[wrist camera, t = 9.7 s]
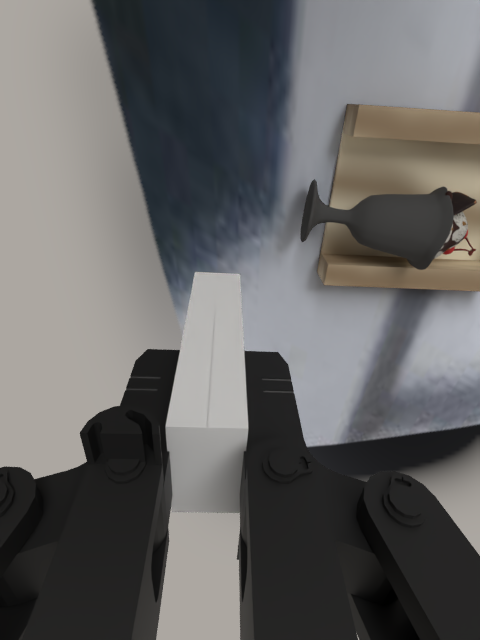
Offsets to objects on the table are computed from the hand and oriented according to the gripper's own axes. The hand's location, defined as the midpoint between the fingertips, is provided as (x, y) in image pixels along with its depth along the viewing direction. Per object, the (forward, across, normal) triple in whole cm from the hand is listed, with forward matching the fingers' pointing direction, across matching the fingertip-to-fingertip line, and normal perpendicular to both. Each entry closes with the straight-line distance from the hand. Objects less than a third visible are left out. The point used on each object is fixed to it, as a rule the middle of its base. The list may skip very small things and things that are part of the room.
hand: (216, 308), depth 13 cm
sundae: (+19, +7, -2) cm, 20 cm away
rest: (+21, +18, -1) cm, 28 cm away
